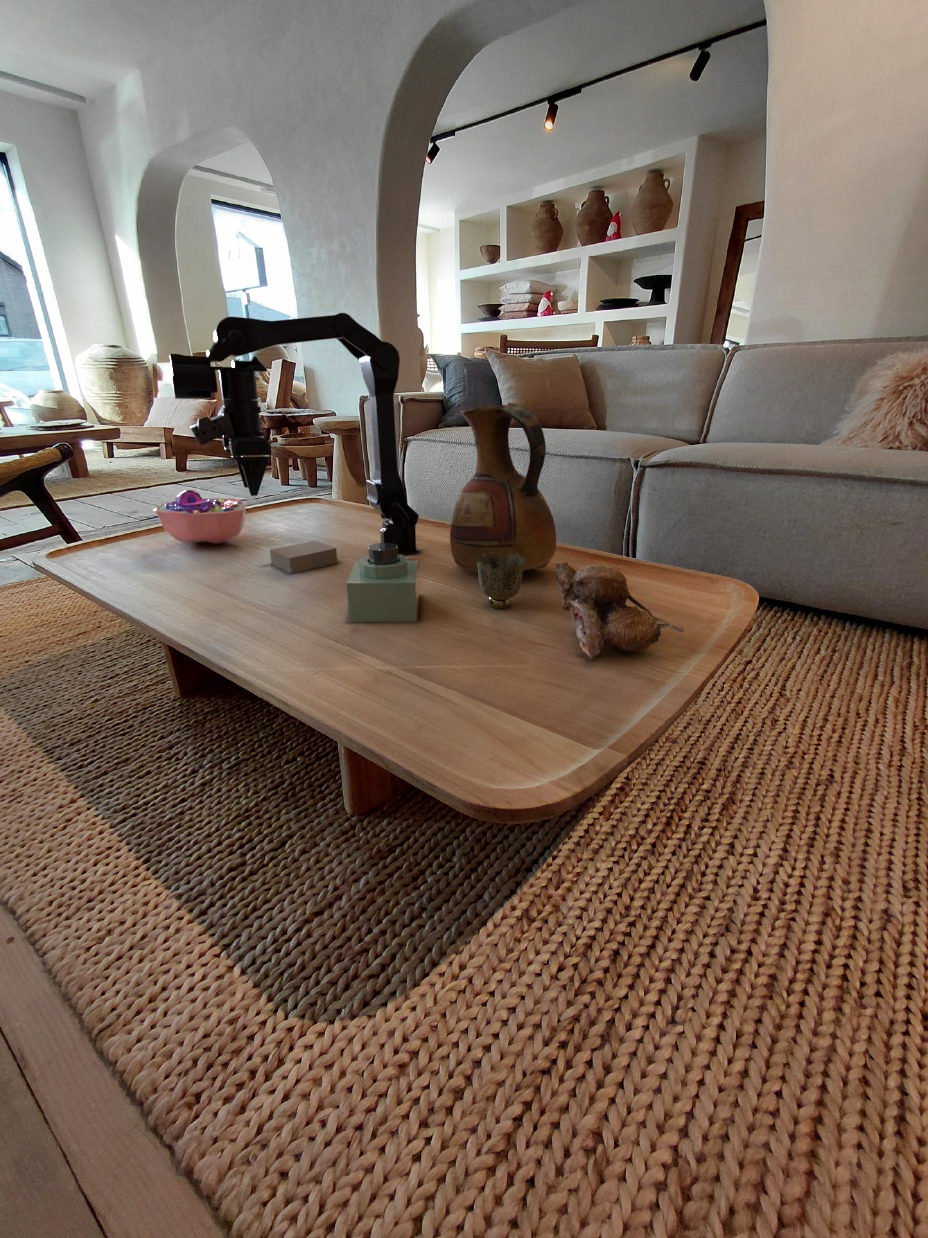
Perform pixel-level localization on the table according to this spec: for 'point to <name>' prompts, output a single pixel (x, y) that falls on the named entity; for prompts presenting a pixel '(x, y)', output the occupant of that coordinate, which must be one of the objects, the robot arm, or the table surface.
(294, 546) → the brown rectangular block
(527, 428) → the ceramic pitcher
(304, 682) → the table surface
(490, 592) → the cup
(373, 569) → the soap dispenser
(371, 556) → the dark grey metal cylinder
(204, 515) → the cell model
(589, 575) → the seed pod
